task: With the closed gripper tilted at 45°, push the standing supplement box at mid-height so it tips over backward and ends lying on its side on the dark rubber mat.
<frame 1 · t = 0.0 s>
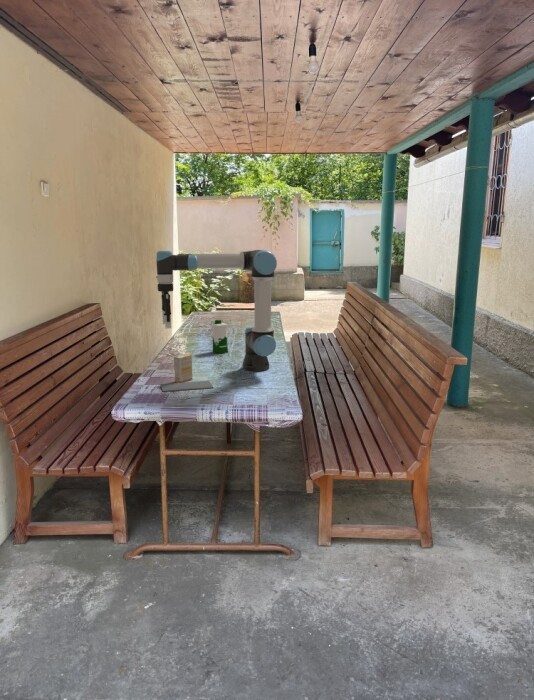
hand: (166, 326, 262), 28 cm above the table, tool pointing down, fingers open, 13 cm apart
supplement box: (183, 381, 268), on the table
rubber mat: (186, 386, 257), on the table
milk carton: (220, 352, 333), on the table
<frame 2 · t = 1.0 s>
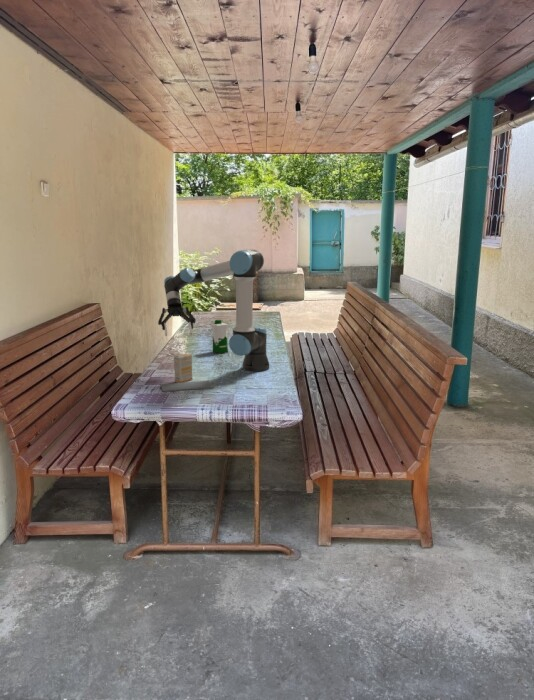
hand: (178, 334, 276), 21 cm above the table, tool tilted 45°, fingers open, 12 cm apart
nothing on the table moved.
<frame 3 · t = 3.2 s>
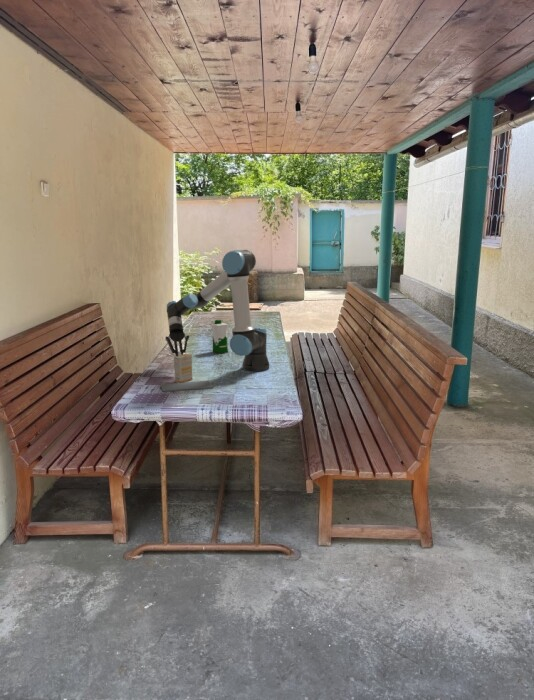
hand: (180, 363, 276), 7 cm above the table, tool tilted 45°, fingers closed
nothing on the table moved.
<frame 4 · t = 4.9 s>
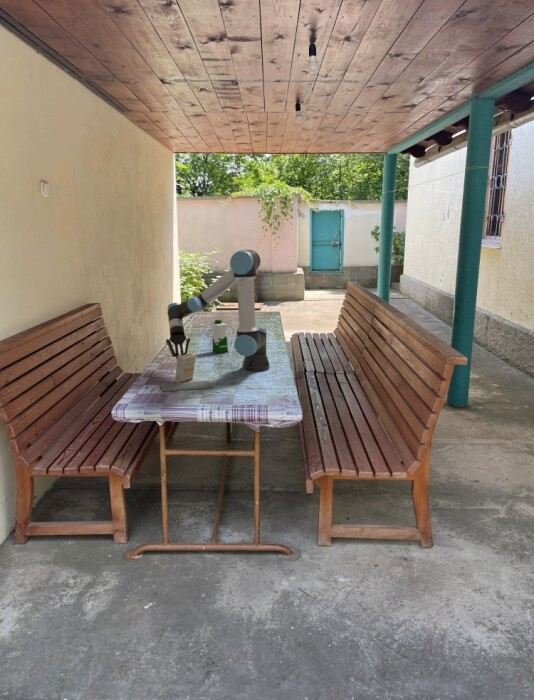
hand: (181, 367, 269), 6 cm above the table, tool tilted 45°, fingers closed
supplement box: (183, 379, 268), on the table, touching gripper
everything else where it was.
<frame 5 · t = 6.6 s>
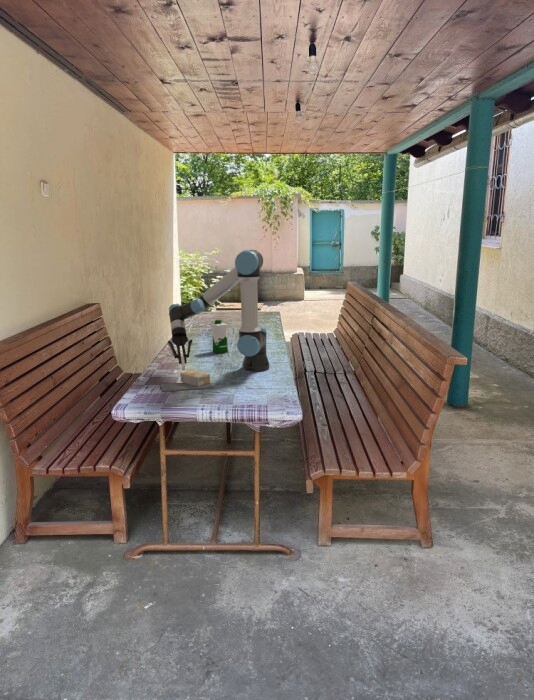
hand: (183, 368, 265), 7 cm above the table, tool tilted 45°, fingers closed
supplement box: (185, 375, 266), point 3 cm above the table, touching rubber mat
everything else where it was.
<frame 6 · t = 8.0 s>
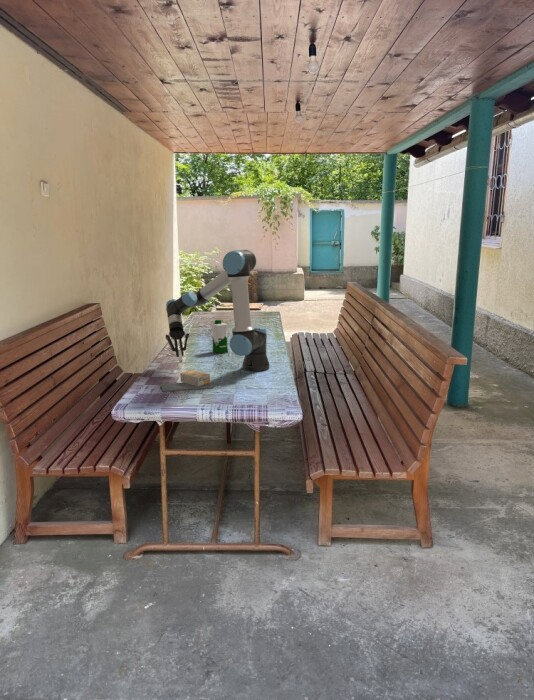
hand: (180, 361, 276), 8 cm above the table, tool tilted 45°, fingers closed
nothing on the table moved.
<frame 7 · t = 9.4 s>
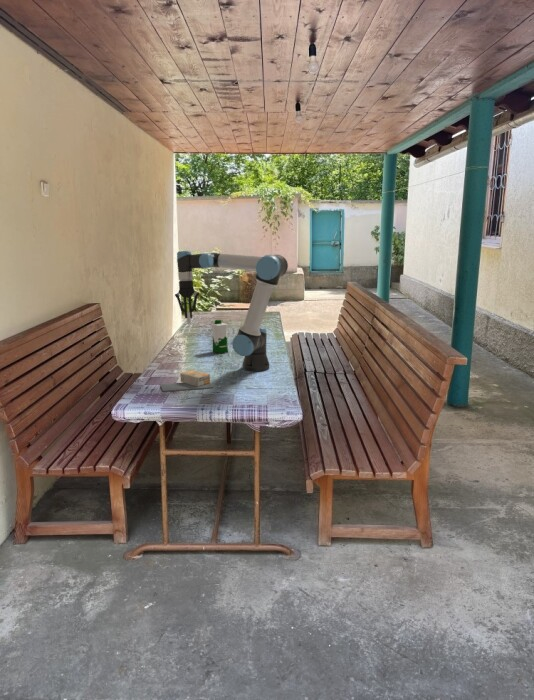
hand: (189, 324, 286), 25 cm above the table, tool pointing down, fingers closed
nothing on the table moved.
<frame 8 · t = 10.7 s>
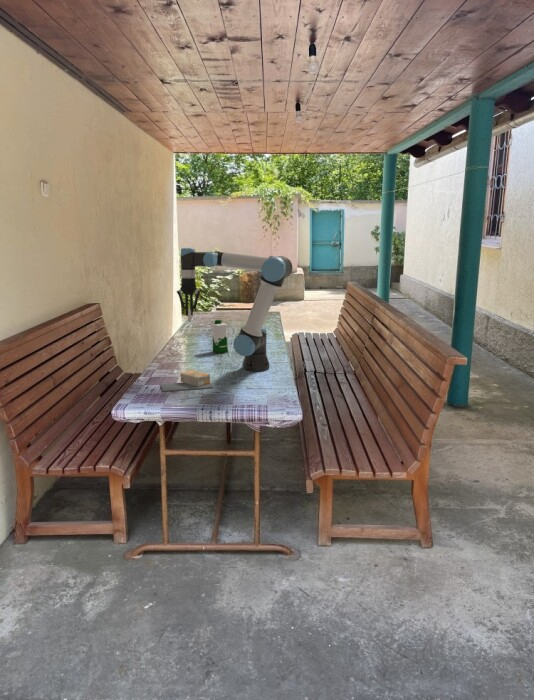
hand: (189, 321, 286), 26 cm above the table, tool pointing down, fingers closed
nothing on the table moved.
at the end: supplement box tilted 91°; supplement box touching rubber mat; the gripper is holding nothing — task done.
